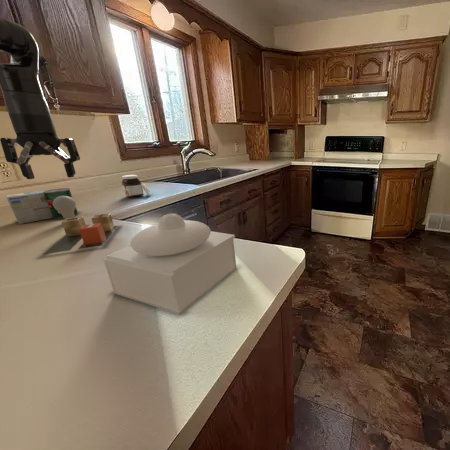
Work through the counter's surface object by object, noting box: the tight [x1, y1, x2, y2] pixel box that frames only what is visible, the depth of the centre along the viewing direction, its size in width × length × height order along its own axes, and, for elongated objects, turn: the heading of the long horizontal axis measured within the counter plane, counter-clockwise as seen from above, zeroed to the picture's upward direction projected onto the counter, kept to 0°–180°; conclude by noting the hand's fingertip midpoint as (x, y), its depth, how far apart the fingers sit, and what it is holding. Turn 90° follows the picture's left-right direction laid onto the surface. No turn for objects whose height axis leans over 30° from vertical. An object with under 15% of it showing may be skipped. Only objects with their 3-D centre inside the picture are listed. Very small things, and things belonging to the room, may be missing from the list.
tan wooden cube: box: [61, 216, 87, 237], centre depth 80 cm, size 4×4×5 cm
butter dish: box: [103, 213, 237, 315], centre depth 52 cm, size 18×18×16 cm
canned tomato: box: [43, 187, 79, 220], centre depth 101 cm, size 8×8×11 cm
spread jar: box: [121, 174, 152, 199], centre depth 134 cm, size 12×11×12 cm
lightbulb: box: [53, 196, 77, 220], centre depth 91 cm, size 6×6×11 cm
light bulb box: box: [5, 190, 54, 225], centre depth 97 cm, size 11×7×11 cm, turn 143°
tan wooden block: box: [91, 213, 115, 232], centre depth 82 cm, size 4×4×5 cm
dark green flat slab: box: [43, 225, 118, 255], centre depth 77 cm, size 14×20×1 cm
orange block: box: [79, 223, 106, 245], centre depth 73 cm, size 4×4×5 cm
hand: (51, 178), depth 67 cm, fingers open, 8 cm apart
